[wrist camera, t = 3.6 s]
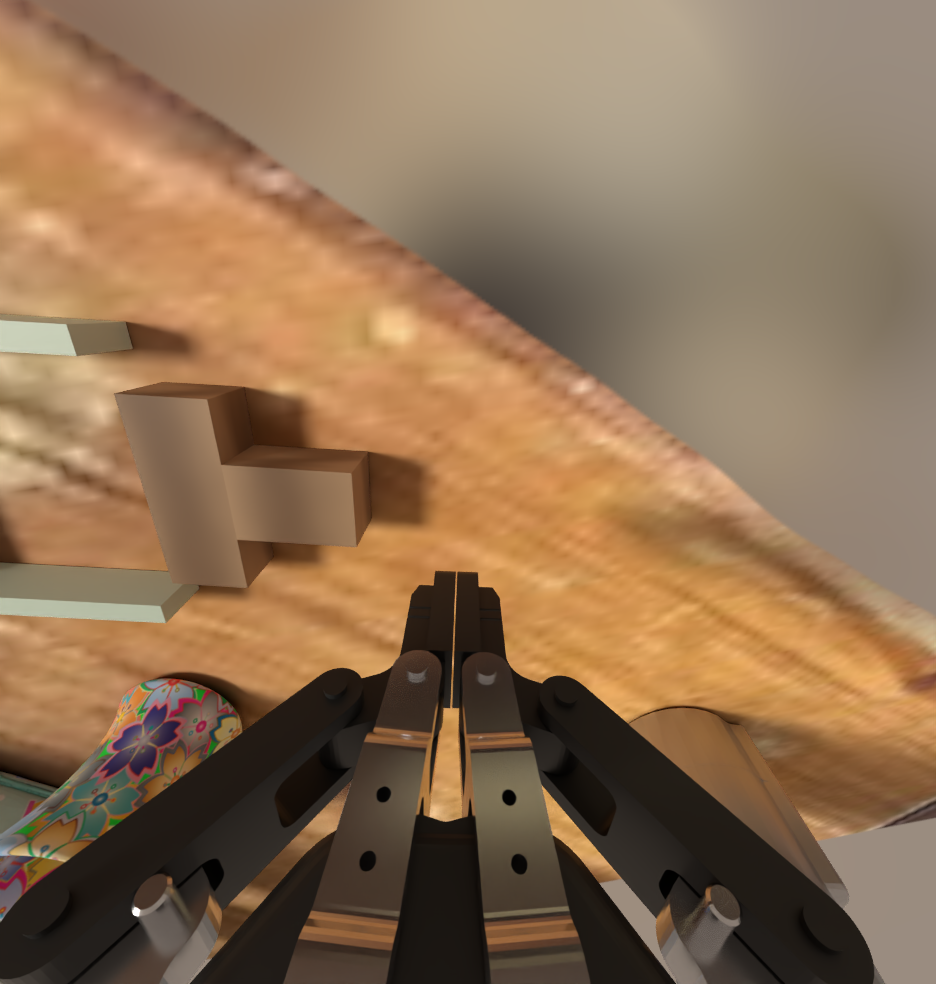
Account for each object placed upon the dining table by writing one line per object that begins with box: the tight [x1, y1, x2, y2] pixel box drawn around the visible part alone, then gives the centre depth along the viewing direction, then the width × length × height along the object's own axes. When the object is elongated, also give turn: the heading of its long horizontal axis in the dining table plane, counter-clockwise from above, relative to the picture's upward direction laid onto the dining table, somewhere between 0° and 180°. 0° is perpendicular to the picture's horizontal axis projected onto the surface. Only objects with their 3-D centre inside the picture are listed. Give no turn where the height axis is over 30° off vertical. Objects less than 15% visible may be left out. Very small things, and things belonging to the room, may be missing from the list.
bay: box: [0, 314, 199, 623], centre depth 21 cm, size 14×15×3 cm
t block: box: [114, 382, 371, 588], centre depth 21 cm, size 10×10×3 cm
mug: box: [0, 679, 242, 921], centre depth 26 cm, size 12×9×11 cm
